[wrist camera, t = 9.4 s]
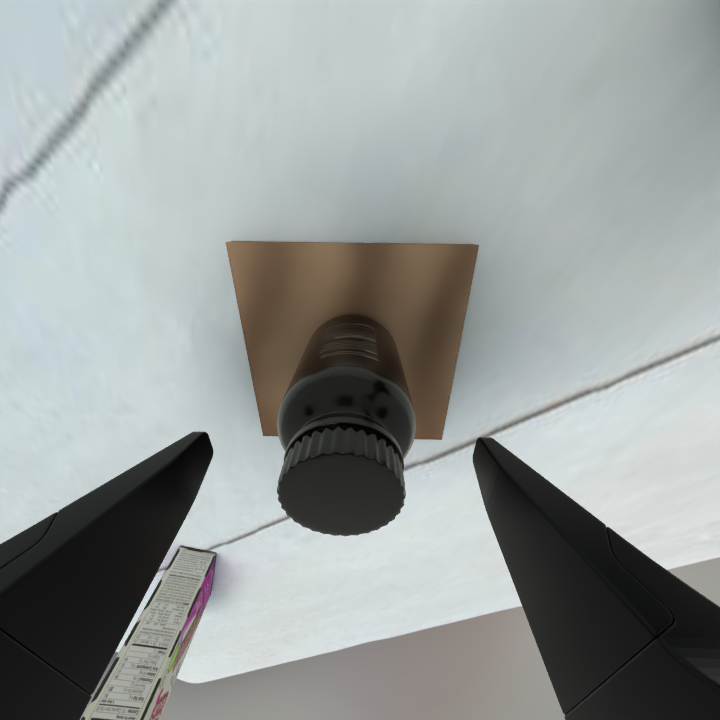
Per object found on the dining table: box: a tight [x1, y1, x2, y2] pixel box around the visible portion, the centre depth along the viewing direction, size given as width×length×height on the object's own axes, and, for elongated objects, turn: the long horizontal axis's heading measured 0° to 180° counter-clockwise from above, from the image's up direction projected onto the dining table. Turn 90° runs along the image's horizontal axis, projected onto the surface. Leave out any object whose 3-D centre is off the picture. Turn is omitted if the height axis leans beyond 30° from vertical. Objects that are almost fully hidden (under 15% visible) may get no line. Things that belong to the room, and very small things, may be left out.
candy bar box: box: [81, 547, 216, 720], centre depth 29 cm, size 11×5×16 cm, turn 162°
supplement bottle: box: [277, 314, 416, 536], centre depth 15 cm, size 7×7×12 cm
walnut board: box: [226, 241, 479, 440], centre depth 21 cm, size 16×16×1 cm
